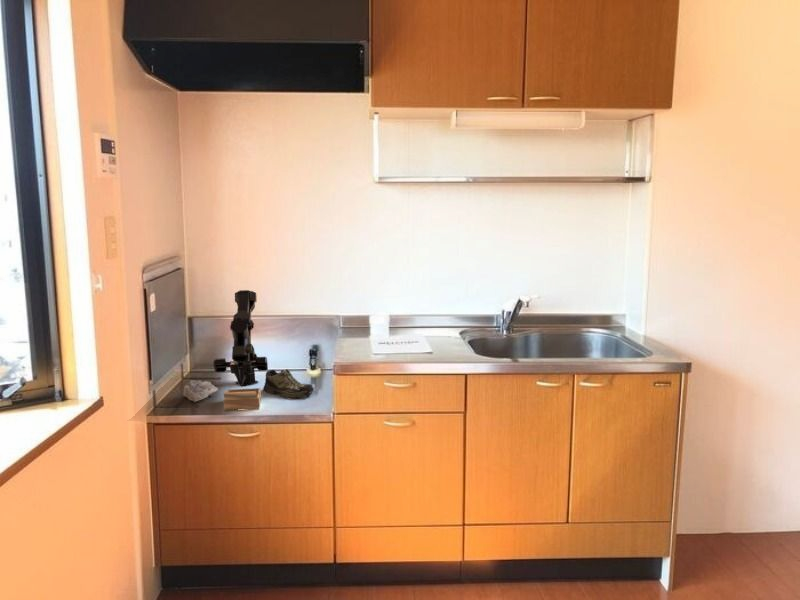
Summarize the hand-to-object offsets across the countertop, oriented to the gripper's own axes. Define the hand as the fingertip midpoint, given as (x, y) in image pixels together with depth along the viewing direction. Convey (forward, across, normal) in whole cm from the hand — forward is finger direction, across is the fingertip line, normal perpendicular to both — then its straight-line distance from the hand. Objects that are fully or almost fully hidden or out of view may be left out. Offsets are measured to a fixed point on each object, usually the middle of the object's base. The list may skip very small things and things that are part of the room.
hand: (240, 385), depth 239 cm
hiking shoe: (-2, +16, +14) cm, 22 cm away
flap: (+6, 0, -4) cm, 7 cm away
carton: (+4, 0, +6) cm, 8 cm away
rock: (-3, -16, +15) cm, 22 cm away
